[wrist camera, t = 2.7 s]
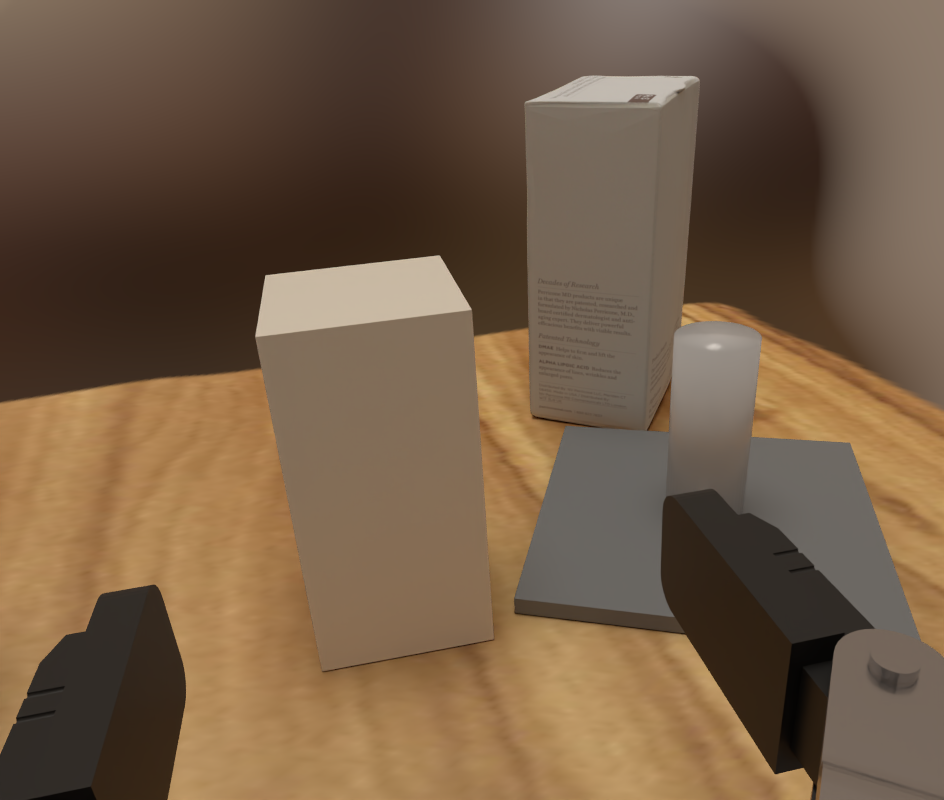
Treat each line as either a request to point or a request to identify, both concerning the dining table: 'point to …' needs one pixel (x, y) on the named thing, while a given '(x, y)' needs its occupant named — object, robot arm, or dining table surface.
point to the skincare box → (607, 244)
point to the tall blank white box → (380, 455)
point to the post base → (629, 528)
